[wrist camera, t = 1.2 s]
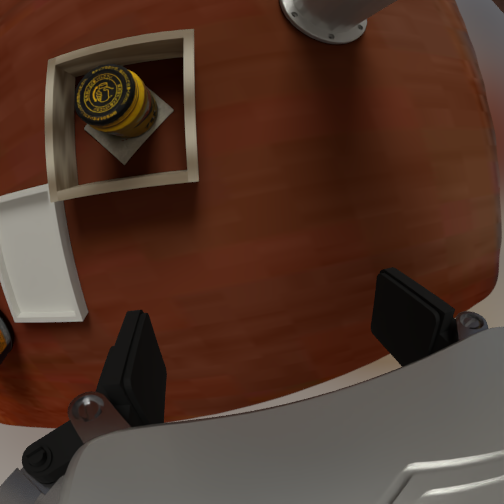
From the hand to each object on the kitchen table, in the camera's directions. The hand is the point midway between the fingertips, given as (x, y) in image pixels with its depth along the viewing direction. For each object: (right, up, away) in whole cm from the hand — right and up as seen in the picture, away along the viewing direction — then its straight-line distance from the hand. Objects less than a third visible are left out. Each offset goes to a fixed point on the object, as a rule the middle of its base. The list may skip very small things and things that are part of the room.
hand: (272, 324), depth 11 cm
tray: (-30, +2, +20) cm, 36 cm away
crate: (-15, +18, +17) cm, 29 cm away
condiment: (-15, +18, +17) cm, 29 cm away
